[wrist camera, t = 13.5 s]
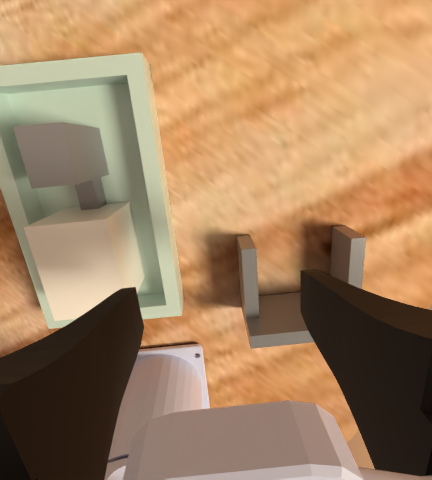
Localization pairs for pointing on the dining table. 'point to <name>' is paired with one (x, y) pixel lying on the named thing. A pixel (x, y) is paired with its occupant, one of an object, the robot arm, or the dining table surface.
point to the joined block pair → (78, 221)
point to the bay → (288, 304)
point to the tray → (116, 152)
